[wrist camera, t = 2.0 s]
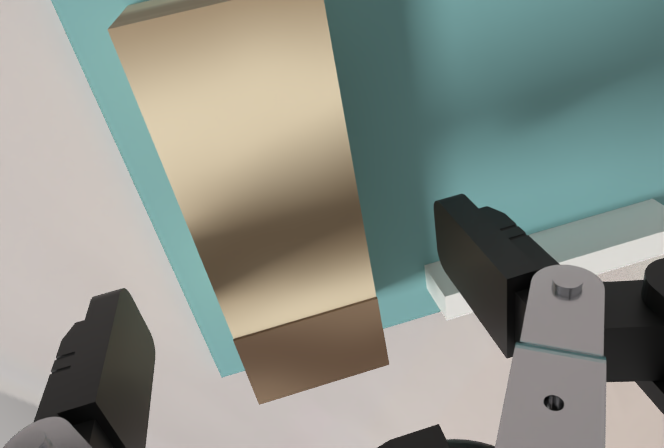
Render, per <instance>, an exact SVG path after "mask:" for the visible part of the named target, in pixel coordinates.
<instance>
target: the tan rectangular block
mask: <svg viewBox="0 0 664 448" xmlns="http://www.w3.org/2000/svg"><path fill="white" fill-rule="evenodd" d="M107 30H108V32H109V35H110V37H111V40H112V42H113V45H114V47H115V49H116V52H117V54H118V57H119V59H120V62H121V64H122V67H123V69H124V72H125V74H126V76H127V79H128V81H129V84H130V86H131V89H132V91H133V94H134V96H135V98H136V101H137V103H138V106H139V108H140V111H141V113H142V116H143V118H144V121H145V123H146V125H147V128H148V130H149V133H150V135H151V138H152V140H153V143H154V145H155V148H156V150H157V152H158V155H159V157H160V160H161V162H162V165H163V167H164V170H165V172H166V175H167V177H168V179H169V182H170V184H171V187H172V189H173V192H174V194H175V197H176V199H177V202H178V204H179V206H180V209H181V211H182V214H183V216H184V219H185V221H186V224H187V226H188V229H189V231H190V233H191V236H192V238H193V241H194V243H195V246H196V248H197V251H198V253H199V256H200V258H201V260H202V263H203V265H204V268H205V270H206V273H207V275H208V278H209V280H210V282H211V285H212V287H213V290H214V292H215V295H216V297H217V300H218V302H219V305H220V307H221V309H222V312H223V314H224V317H225V319H226V322H227V324H228V327H229V329H230V332H231V334H232V336H233V342H234V344H235V347H236V349H237V351H238V354H239V356H240V359H241V361H242V364H243V366H244V369H245V371H246V373H247V376H248V378H249V381H250V383H251V386H252V388H253V391H254V393H255V395H256V398H257V400H258V403H259V405H260V404H263V403H266V402H269V401H273V400H276V399H279V398H282V397H286V396H289V395H292V394H295V393H298V392H302V391H305V390H308V389H311V388H315V387H318V386H321V385H324V384H328V383H331V382H334V381H337V380H341V379H344V378H347V377H350V376H354V375H357V374H360V373H363V372H366V371H370V370H373V369H376V368H379V367H383V366H386V365H389V361H388V355H387V349H386V343H385V338H384V332H383V326H382V321H381V315H380V309H379V304H378V298H377V297H376V292H375V286H374V281H373V275H372V269H371V264H370V258H369V252H368V247H367V241H366V236H365V230H364V224H363V219H362V213H361V207H360V202H359V196H358V190H357V185H356V179H355V173H354V168H353V162H352V157H351V151H350V145H349V140H348V134H347V128H346V123H345V117H344V111H343V106H342V100H341V94H340V89H339V83H338V78H337V72H336V66H335V61H334V55H333V49H332V44H331V38H330V32H329V27H328V21H327V15H326V10H325V4H324V0H149V1H145V2H141V3H136V4H132V5H128V6H127V7H126V8H125V9H124V11H123V12H122V13H121V14H120V15H119V16H118V18H117V19H116V20H115V21H114V22H113V23H112V25H111V26H110V27H109V28H108V29H107Z"/></svg>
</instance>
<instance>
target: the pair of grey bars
mask: <svg viewBox="0 0 664 448" xmlns="http://www.w3.org/2000/svg"><path fill="white" fill-rule="evenodd" d="M529 236H530V237H531V238H532V239H533V240H534V241H535V242H536V243H537V244H538V245H540V246H541V247H542V248H543V249H544V250H545V251H546V252H547V253H548V254H549V255H550V256H551V257H552V258H554V259H555V260H556V261H557V262H558V263H559V264H560V265H573V266H578V267H581V268H584V269H587V270H589V271H591V272H593V273H594V274H595V275H599V274H602V273H605V272H608V271H612V270H615V269H618V268H622V267H625V266H628V265H631V264H635V263H638V262H641V261H645V260H648V259H651V258H654V257H658V256H661V255H664V205H662V204H661V203H659V202H657V201H656V200H654V199H650V200H646V201H643V202H639V203H636V204H632V205H629V206H626V207H622V208H619V209H615V210H612V211H608V212H605V213H602V214H598V215H595V216H591V217H588V218H584V219H581V220H578V221H574V222H571V223H567V224H564V225H561V226H557V227H554V228H550V229H547V230H543V231H540V232H537V233H533V234H530V235H529ZM424 267H425V276H426V286H427V289H428V291H429V293H430V294H431V296H432V298H433V299H434V301H435V302H436V304H437V306H438V307H439V309H440V311H441V312H442V314H443V315H444V317H445V319H446V320H451V319H454V318H457V317H460V316H464V315H467V314H470V313H474V312H473V311H472V309H471V308H470V306H469V305H468V304H467V302H466V301H465V299H464V298H463V297H462V295H461V294H460V292H459V291H458V290H457V288H456V287H455V285H454V284H453V283H452V281H451V280H450V278H449V277H448V276H447V274H446V273H445V271H444V269H443V267H442V265H441V263H440V261H437V262H434V263H431V264H427V265H424Z"/></svg>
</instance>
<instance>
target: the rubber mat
mask: <svg viewBox="0 0 664 448" xmlns="http://www.w3.org/2000/svg"><path fill="white" fill-rule="evenodd" d="M51 1H52V3H53V5H54V8H55V10H56V12H57V14H58V16H59V19H60V21H61V23H62V25H63V28H64V30H65V32H66V34H67V36H68V39H69V41H70V43H71V45H72V47H73V50H74V52H75V54H76V56H77V58H78V61H79V63H80V65H81V67H82V70H83V72H84V74H85V76H86V78H87V81H88V83H89V85H90V87H91V89H92V92H93V94H94V96H95V98H96V100H97V103H98V105H99V107H100V109H101V112H102V114H103V116H104V118H105V120H106V123H107V125H108V127H109V129H110V131H111V134H112V136H113V138H114V140H115V142H116V145H117V147H118V149H119V151H120V154H121V156H122V158H123V160H124V162H125V165H126V167H127V169H128V171H129V173H130V176H131V178H132V180H133V182H134V185H135V187H136V189H137V191H138V193H139V196H140V198H141V200H142V202H143V204H144V207H145V209H146V211H147V213H148V215H149V218H150V220H151V222H152V224H153V227H154V229H155V231H156V233H157V235H158V238H159V240H160V242H161V244H162V246H163V249H164V251H165V253H166V255H167V257H168V260H169V262H170V264H171V266H172V269H173V271H174V273H175V275H176V277H177V280H178V282H179V284H180V286H181V288H182V291H183V293H184V295H185V297H186V299H187V302H188V304H189V306H190V308H191V311H192V313H193V315H194V317H195V319H196V322H197V324H198V326H199V328H200V330H201V333H202V335H203V337H204V339H205V341H206V344H207V346H208V348H209V350H210V353H211V355H212V357H213V359H214V361H215V364H216V366H217V368H218V370H219V372H220V375H221V377H225V376H228V375H232V374H235V373H238V372H242V371H245V369H244V366H243V364H242V361H241V359H240V356H239V354H238V351H237V349H236V347H235V344H234V342H233V336H232V334H231V332H230V329H229V327H228V324H227V322H226V319H225V317H224V314H223V312H222V309H221V307H220V305H219V302H218V300H217V297H216V295H215V292H214V290H213V287H212V285H211V282H210V280H209V278H208V275H207V273H206V270H205V268H204V265H203V263H202V260H201V258H200V256H199V253H198V251H197V248H196V246H195V243H194V241H193V238H192V236H191V233H190V231H189V229H188V226H187V224H186V221H185V219H184V216H183V214H182V211H181V209H180V206H179V204H178V202H177V199H176V197H175V194H174V192H173V189H172V187H171V184H170V182H169V179H168V177H167V175H166V172H165V170H164V167H163V165H162V162H161V160H160V157H159V155H158V152H157V150H156V148H155V145H154V143H153V140H152V138H151V135H150V133H149V130H148V128H147V125H146V123H145V121H144V118H143V116H142V113H141V111H140V108H139V106H138V103H137V101H136V98H135V96H134V94H133V91H132V89H131V86H130V84H129V81H128V79H127V76H126V74H125V72H124V69H123V67H122V64H121V62H120V59H119V57H118V54H117V52H116V49H115V47H114V45H113V42H112V40H111V37H110V35H109V32H108V30H107V29H108V28H109V27H110V26H111V25H112V23H113V22H114V21H115V20H116V19H117V18H118V16H119V15H120V14H121V13H122V12H123V11H124V9H125V8H126V7H127V6H128V5H132V4H136V3H141V2H145V1H149V0H51ZM324 4H325V10H326V15H327V21H328V27H329V32H330V38H331V44H332V49H333V55H334V61H335V66H336V72H337V78H338V83H339V89H340V94H341V100H342V106H343V111H344V117H345V123H346V128H347V134H348V140H349V145H350V151H351V157H352V162H353V168H354V173H355V179H356V185H357V190H358V196H359V202H360V207H361V213H362V219H363V224H364V230H365V236H366V241H367V247H368V252H369V258H370V264H371V269H372V275H373V281H374V286H375V292H376V297H377V298H378V304H379V309H380V315H381V321H382V326H383V329H384V328H387V327H391V326H394V325H397V324H401V323H404V322H407V321H411V320H414V319H417V318H421V317H424V316H427V315H431V314H434V313H437V312H440V309H439V307H438V306H437V304H436V302H435V301H434V299H433V298H432V296H431V294H430V293H429V291H428V289H427V286H426V276H425V267H424V265H427V264H431V263H434V262H437V261H440V260H439V256H438V252H437V242H436V231H435V221H434V209H433V207H434V202H435V201H437V200H441V199H444V198H448V197H451V196H455V195H458V194H465V195H466V196H467V197H468V198H469V199H470V200H471V201H472V202H473V203H474V204H475V205H476V206H477V207H478V208H482V207H485V206H489V207H491V208H493V209H496V210H498V211H501V212H503V213H505V214H506V215H507V216H508V217H509V218H510V219H512V220H513V221H514V222H515V223H516V225H517V227H518V226H519V227H520V228H521V229H522V230H523V231H524V232H526V235H530V234H533V233H537V232H540V231H543V230H547V229H550V228H554V227H557V226H561V225H564V224H567V223H571V222H574V221H578V220H581V219H584V218H588V217H591V216H595V215H598V214H602V213H605V212H608V211H612V210H615V209H619V208H622V207H626V206H629V205H632V204H636V203H639V202H643V201H646V200H650V199H654V200H656V201H657V202H659V203H661V204H662V205H664V0H324Z"/></svg>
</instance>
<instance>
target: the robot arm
mask: <svg viewBox="0 0 664 448" xmlns="http://www.w3.org/2000/svg"><path fill="white" fill-rule="evenodd" d="M433 209H434V221H435V231H436V242H437V252H438V256H439V260H440V263H441V265H442V267H443V269H444V271H445V273H446V274H447V276H448V277H449V278H450V280H451V281H452V283H453V284H454V285H455V287H456V288H457V290H458V291H459V292H460V294H461V295H462V297H463V298H464V299H465V301H466V302H467V304H468V305H469V306H470V308H471V309H472V311H473V312H474V313H475V315H476V316H477V318H478V319H479V320H480V322H481V323H482V325H483V326H484V327H485V329H486V330H487V331H488V333H489V334H490V336H491V337H492V338H493V340H494V341H495V343H496V344H497V345H498V347H499V348H500V350H501V351H502V352H503V354H504V355H505V357H506V358H510V357H513V359H512V364H511V369H510V374H509V379H508V384H507V389H506V394H505V399H504V404H503V410H502V415H501V420H500V425H499V430H498V435H497V440H496V445H495V446H493V445H489V444H485V443H482V442H477V441H471V440H460V439H449V440H446V438H445V436H444V434H443V432H442V430H441V428H440V426H439V424H437V425H434V426H431V427H428V428H425V429H422V430H419V431H416V432H413V433H410V434H407V435H404V436H401V437H398V438H394V439H391V440H389V441H387V442H386V443H384V444H383V445H381V446H379V447H378V448H605V427H606V382H629V381H635V382H636V383H637V384H638V385H639V387H640V388H641V389H642V390H643V391H644V392H645V394H646V395H647V396H648V397H649V398H650V399H651V400H652V402H653V403H654V404H655V405H656V406H657V407H658V409H659V410H660V411H661V412H662V413H663V414H664V258H663V259H659V260H656V261H654V262H652V263H651V264H649V265H648V266H647V268H646V270H645V274H644V280H634V281H617V282H602V281H601V279H600V278H599V277H598V276H597V275H595V274H594V273H593V272H591V271H589V270H587V269H584V268H581V267H578V266H573V265H560V264H559V263H558V262H557V261H556V260H555V259H554V258H552V257H551V256H550V255H549V254H548V253H547V252H546V251H545V250H544V249H543V248H542V247H541V246H540V245H538V244H537V243H536V242H535V241H534V240H533V239H532V238H531V237H530V236H529V235H526V232H524V231H523V230H522V229H521V228H520V227H519V226H518V227H517V225H516V223H515V222H514V221H513V220H512V219H510V218H509V217H508V216H507V215H506V214H505V213H503V212H501V211H498V210H496V209H493V208H491V207H489V206H485V207H482V208H478V207H477V206H476V205H475V204H474V203H473V202H472V201H471V200H470V199H469V198H468V197H467V196H466V195H465V194H458V195H455V196H451V197H448V198H444V199H441V200H437V201H435V202H434V207H433ZM56 358H57V360H55V361H54V364H53V367H52V370H51V372H52V374H51V375H50V376H49V379H48V382H47V385H46V388H45V390H44V393H43V396H42V399H41V402H40V405H39V408H38V411H37V414H36V417H35V420H34V422H33V423H32V424H30V425H28V426H26V427H25V428H23V429H22V430H21V431H19V432H18V433H17V434H16V435H14V436H13V437H12V438H11V439H10V440H9V441H8V443H7V444H6V445H5V446H4V447H3V448H145V446H146V437H147V428H148V419H149V410H150V401H151V391H152V382H153V373H154V364H155V347H154V342H153V338H152V336H151V333H150V331H149V329H148V327H147V325H146V323H145V321H144V320H143V318H142V316H141V314H140V312H139V310H138V308H137V306H136V304H135V302H134V300H133V298H132V297H131V295H130V293H129V292H128V291H127V290H126V289H125V288H122V289H119V290H115V291H112V292H108V293H105V294H101V295H98V296H94V297H92V299H91V301H90V304H89V308H88V311H87V314H86V318H85V320H84V321H80V322H77V323H75V324H74V325H73V327H72V328H71V329H70V330H69V332H68V333H67V334H66V335H65V337H64V338H63V339H62V341H61V344H60V347H59V350H58V353H57V356H56Z"/></svg>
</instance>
